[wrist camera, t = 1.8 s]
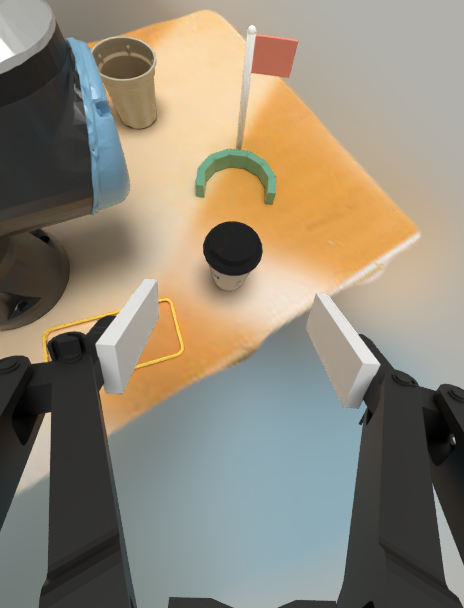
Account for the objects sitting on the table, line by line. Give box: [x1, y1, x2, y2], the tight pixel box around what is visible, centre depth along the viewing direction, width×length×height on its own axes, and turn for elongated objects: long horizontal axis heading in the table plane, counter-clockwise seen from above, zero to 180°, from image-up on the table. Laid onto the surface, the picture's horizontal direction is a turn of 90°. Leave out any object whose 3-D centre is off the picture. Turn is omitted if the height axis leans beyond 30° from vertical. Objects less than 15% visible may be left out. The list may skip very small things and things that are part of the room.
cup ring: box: [196, 149, 276, 204], centre depth 41 cm, size 12×8×2 cm, turn 86°
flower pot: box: [91, 36, 157, 129], centre depth 41 cm, size 9×9×9 cm
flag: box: [236, 25, 298, 150], centre depth 36 cm, size 6×1×17 cm, turn 86°
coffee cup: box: [203, 221, 263, 291], centre depth 33 cm, size 7×7×10 cm
